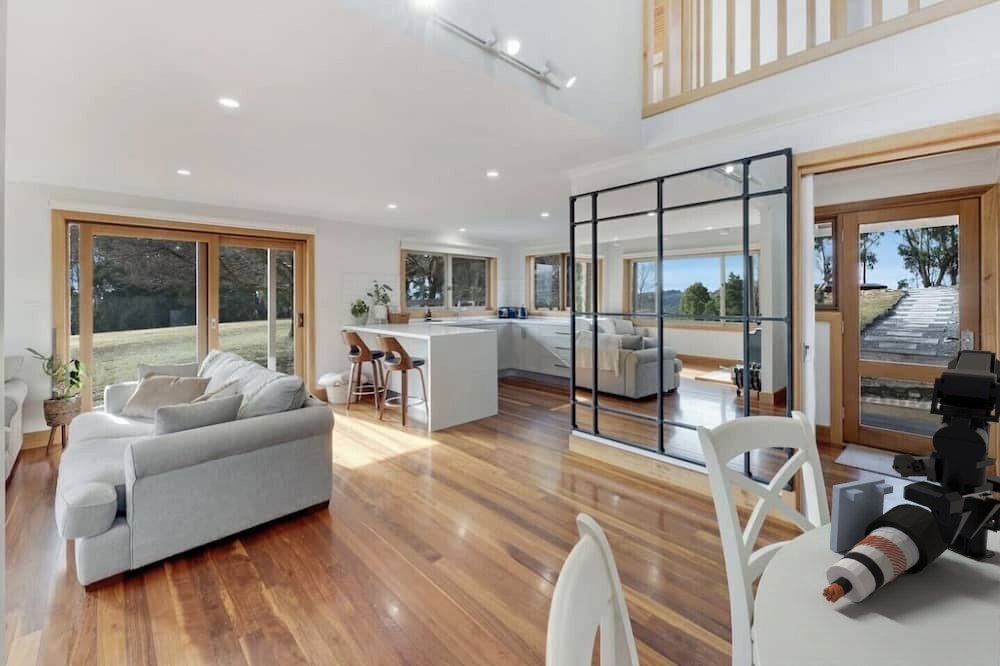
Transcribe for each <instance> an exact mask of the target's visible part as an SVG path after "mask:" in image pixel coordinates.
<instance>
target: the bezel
mask: <svg viewBox="0 0 1000 666" xmlns="http://www.w3.org/2000/svg"><path fill="white" fill-rule="evenodd" d="M889 494H890V495H891V494H894V486H893V485H890V484H888V483H886V480H885V478H882V477H879V476H876V477H871V478H865V479H860V480H855V481H851V482H846V483H845V482H843V483H839V484H834V485H832V496H831V497H832V498H831V499H832V500H831V514H830V515H831V517H830V540H829V550H830V551H832V552H834V553H840V552H841V551H842V552H845V551H844V550H846V551H849V550H848V549H850V550H852V548H853V547H854V546H855V545H856V544H858V543H859V542H861V541H862V540H864V539H865V536H864V534H865V530H866V527H867V526H868V525H869V524H870V523H872V522H873V521H874V520H876V519H877V518H879V517H880V516H881V515H883V514H884V505H885V504H884V502H885V501H884V500H885V496H886V495H889Z"/></svg>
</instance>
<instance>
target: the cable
mask: <svg viewBox="0 0 1000 666" xmlns="http://www.w3.org/2000/svg"><path fill="white" fill-rule="evenodd" d="M864 536H865V539H864V540H862V541H861V542H859V543H858V544H856V545H855V546H854V547H853V548H852V549H850V550H848V552H847V553H846V554H844V556H843V557H841V558H840V559H839V560H838V561H837V562H835V563H834V564H833V565H831V566H830V567H829V568H828V570H827V571H826V580H827V582H828V584H829V585H828V586H827V587H825V588H824V589H823V592H822V596H823V597H824V598H825V599H826V601H827V602H831V603H834V604H835V603H836V602H837V601H838V600H840V599H841V598H844V599H846V600H847V601H850V602H852V601H853V602H852V603H859V602H861V601H863V600H864V599H866V598H867V597H868V596H870V595H871V594H873V593H875V592H876V591H878V590H879V589H880V588H883V587H884V585H886V584H887V583H889V584H890V583H891V582H892V581H894V580H895V579H896V578H897V577H899V575H901V574H903V573H904V574H917V573H919V572H922V571H924V570H925V569H926V568H927V567H929V566H930V564H932V563H933V562H934V561H935V560H937V558H939V557H940V556H941V555H942V554H943V553H945V551H947V550H948V547H949V544H947V543H944V542H943V541H942V539H941V536H940V533H939V530H938V527H937V524H936V522H935V519H934V516H933V514H932V512H931V510H930V509H927V508H925V507H924V506H922V505H918V504H911V503H902V504H898V505H895V506H893V507H892V508H890V509H889V510H887V511H886V512H883V515H881V516H880V517H879V518H877V519H876V520H874V521H873V522H872V523H870V524H869V525H868V526H867V527H866V530H865V534H864Z"/></svg>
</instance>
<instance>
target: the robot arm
mask: <svg viewBox="0 0 1000 666" xmlns="http://www.w3.org/2000/svg"><path fill="white" fill-rule="evenodd" d="M946 368H947V369H944V370H943V371H942V372H941V373H940V377H938V376H936V377H935V379H934V383H933V391H932V398H931V404H930V412H929V413H930V414H931V415H936V416H937V415H938V416H942V417H941V418H940V425H939V427H938V428H937V429H936V431H935V433H934V434H933V435H932V436H933V437H932V446H933V449H934V450H932V451H931V452H930V453H929V456H912V454H910V453H906V454H903V453H902V454H900V453H899V454H896V455H895V454H894V459H893V460H892V462H893V463H892V465H891V468H892V469H893V470H894V471H895V472H896V473H897V474H899V475H900V478H903V479H905V478H906V479H907V478H908V479H909V477H911V478H912V477H916V478H917V477H918V478H919V477H923V478H924V477H925V478H926V481H925V480H923V481H917V482H912V483H909V484H907V485H904V486H903V496H902V498H903V499H904V500H905V501H908V502H911V503H914V504H915V505H918V506H921V507H924V508H925V507H926V509H927V508H928V510H929V511H931V512H932V514H933V516H934V519H935V522H936V524H937V527H938V530H939V533H940V536H941V539H942V541H943V542H944V543H947V544H949V547H948V549H949V550H951V551H952V552H956V553H958V554H960V555H963V556H966V557H968V558H971V559H973V560H976V561H980V560H983V559H986V558H989V557H993V556H996V552H995V551H993V550H990V549H988V534H989V531H991V532H994V533H998V532H1000V499H996V493H999V494H1000V476H999V475H994V474H992V473H991V474H990V473H988V468H989V467H990V466H995V464H996V463H995V460H996V459H995V458H993V457H989V453H990V439H991V423H996V424H999V423H1000V360H999V359H997V352H992V351H991V350H982V349H981V350H980V349H978V350H977V349H963V350H958V351H957V357H956V358H954V359H952V360H950V361H948V363H947V367H946ZM938 404H939V407H938ZM993 411H994V414H992V412H993ZM990 422H991V423H990ZM935 483H937V484H935ZM938 484H939V485H938ZM948 549H947V550H948Z"/></svg>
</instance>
